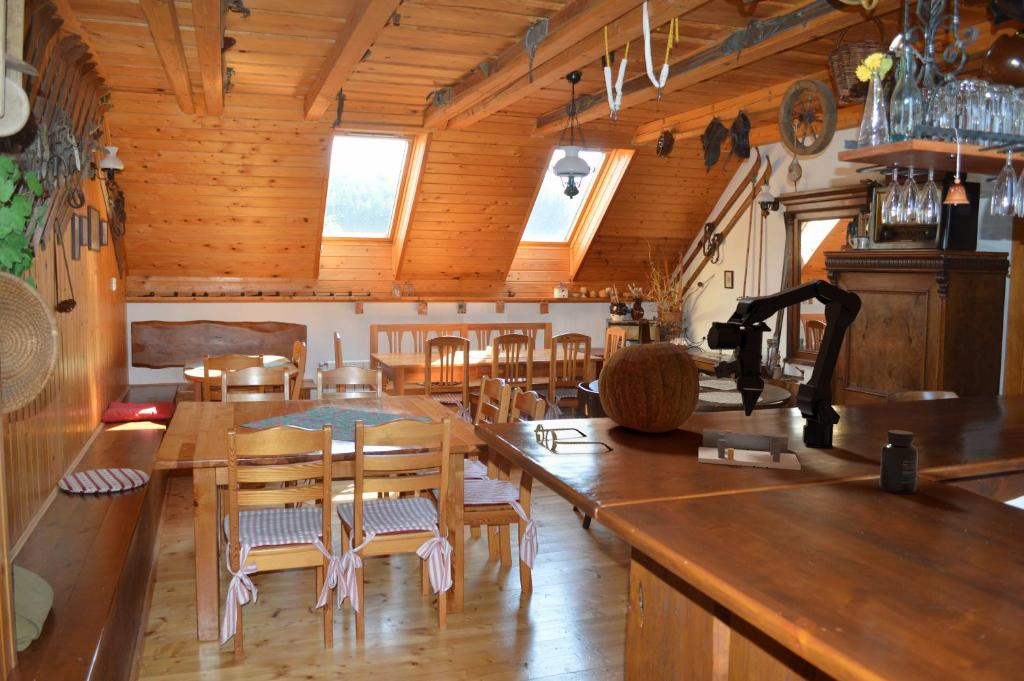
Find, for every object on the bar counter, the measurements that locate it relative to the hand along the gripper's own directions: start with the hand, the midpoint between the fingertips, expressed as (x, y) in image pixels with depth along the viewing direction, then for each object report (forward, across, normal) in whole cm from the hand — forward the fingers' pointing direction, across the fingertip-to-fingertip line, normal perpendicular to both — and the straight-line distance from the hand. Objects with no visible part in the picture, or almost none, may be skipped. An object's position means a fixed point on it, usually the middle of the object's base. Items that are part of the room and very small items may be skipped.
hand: (746, 412), depth 205 cm
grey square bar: (+9, 0, 0) cm, 9 cm away
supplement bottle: (+9, +31, +28) cm, 43 cm away
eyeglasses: (+9, +11, -41) cm, 44 cm away
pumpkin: (+9, -13, -26) cm, 30 cm away
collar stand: (+9, +14, 0) cm, 17 cm away
